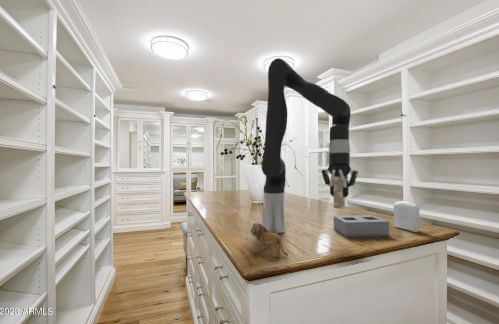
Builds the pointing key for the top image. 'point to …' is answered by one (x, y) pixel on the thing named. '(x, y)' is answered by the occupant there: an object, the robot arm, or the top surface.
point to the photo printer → (406, 216)
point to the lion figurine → (267, 238)
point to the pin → (338, 193)
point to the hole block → (361, 226)
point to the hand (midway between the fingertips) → (339, 196)
